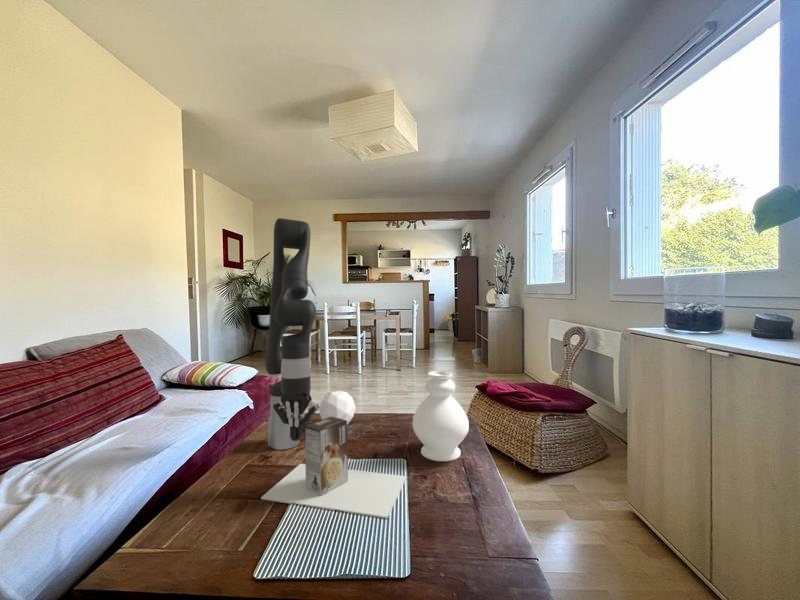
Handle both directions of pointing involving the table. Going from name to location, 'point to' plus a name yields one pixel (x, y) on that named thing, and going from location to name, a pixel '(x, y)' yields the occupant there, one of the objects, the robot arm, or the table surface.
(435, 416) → the decorative vase
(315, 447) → the coffee box
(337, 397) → the geodesic sphere
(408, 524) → the table surface
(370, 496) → the mat
